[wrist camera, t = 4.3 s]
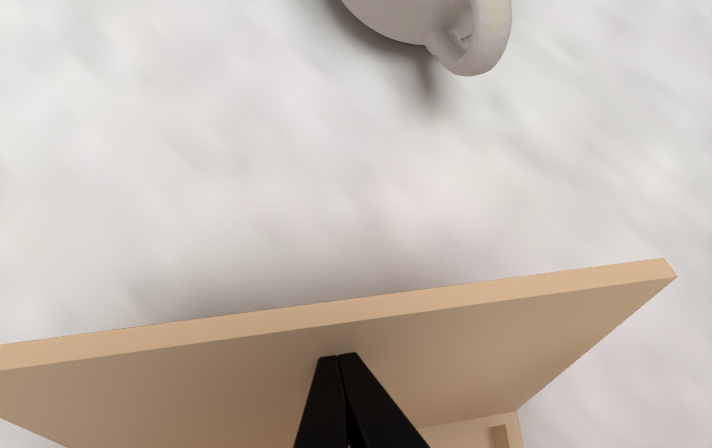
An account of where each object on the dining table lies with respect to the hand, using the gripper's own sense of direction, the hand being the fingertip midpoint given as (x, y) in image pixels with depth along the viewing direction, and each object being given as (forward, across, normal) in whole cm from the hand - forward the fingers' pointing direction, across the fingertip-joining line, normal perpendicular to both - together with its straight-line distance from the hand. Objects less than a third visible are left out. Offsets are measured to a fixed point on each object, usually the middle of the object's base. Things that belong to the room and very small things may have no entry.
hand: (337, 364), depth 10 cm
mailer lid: (+1, 0, +3) cm, 3 cm away
